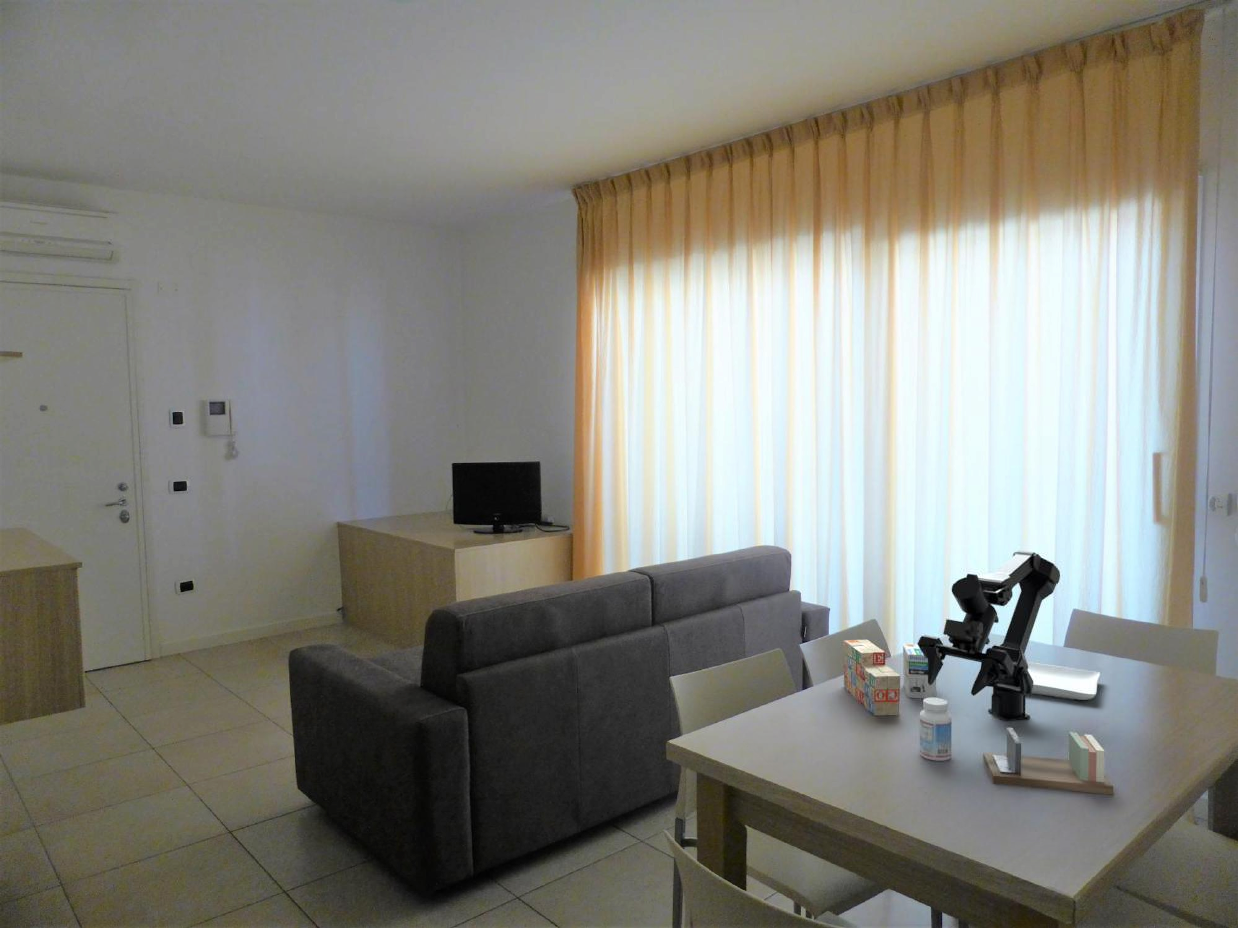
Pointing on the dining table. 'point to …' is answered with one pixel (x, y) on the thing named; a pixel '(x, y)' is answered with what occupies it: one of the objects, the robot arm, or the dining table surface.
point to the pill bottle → (935, 730)
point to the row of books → (1086, 757)
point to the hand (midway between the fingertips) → (950, 689)
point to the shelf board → (1045, 775)
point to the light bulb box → (916, 673)
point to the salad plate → (1063, 681)
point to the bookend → (1010, 755)
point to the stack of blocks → (871, 677)
